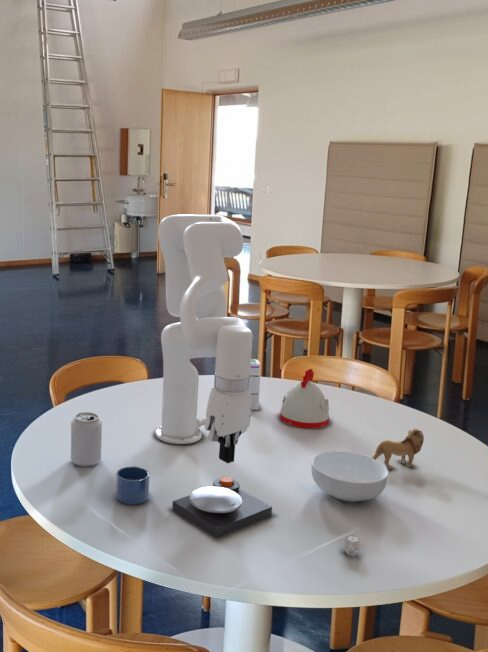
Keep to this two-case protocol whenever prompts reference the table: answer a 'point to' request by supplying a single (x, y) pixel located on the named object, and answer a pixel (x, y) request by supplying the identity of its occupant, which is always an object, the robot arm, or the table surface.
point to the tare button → (226, 481)
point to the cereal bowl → (349, 475)
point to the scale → (228, 521)
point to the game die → (352, 546)
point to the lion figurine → (401, 448)
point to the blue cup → (132, 485)
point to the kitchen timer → (305, 405)
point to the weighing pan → (215, 499)
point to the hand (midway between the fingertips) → (226, 460)
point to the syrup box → (254, 383)
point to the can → (86, 439)
